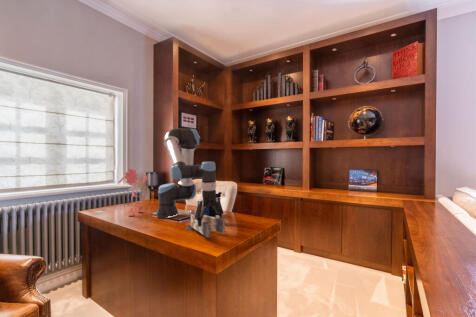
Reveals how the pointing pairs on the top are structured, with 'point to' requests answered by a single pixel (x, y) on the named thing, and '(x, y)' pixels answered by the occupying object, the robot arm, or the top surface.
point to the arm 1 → (205, 226)
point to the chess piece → (211, 210)
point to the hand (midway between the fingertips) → (209, 229)
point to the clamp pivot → (190, 225)
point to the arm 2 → (215, 223)
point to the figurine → (131, 178)
